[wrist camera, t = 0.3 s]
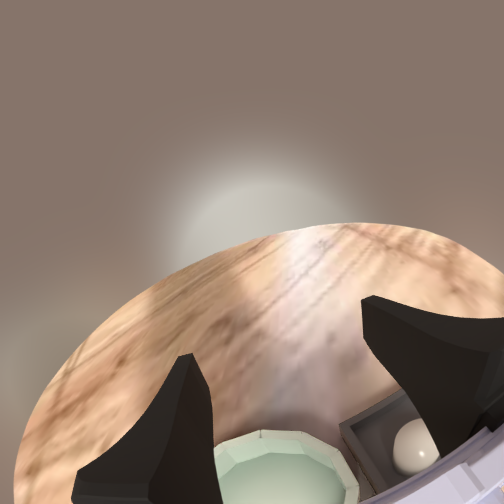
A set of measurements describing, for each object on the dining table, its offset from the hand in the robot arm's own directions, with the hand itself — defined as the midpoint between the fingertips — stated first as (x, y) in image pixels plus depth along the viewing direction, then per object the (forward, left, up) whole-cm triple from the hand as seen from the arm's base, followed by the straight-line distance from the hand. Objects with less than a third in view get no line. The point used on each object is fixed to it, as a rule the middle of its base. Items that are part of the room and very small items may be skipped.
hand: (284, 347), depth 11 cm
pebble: (-1, -8, -20) cm, 21 cm away
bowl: (0, +6, -21) cm, 22 cm away
